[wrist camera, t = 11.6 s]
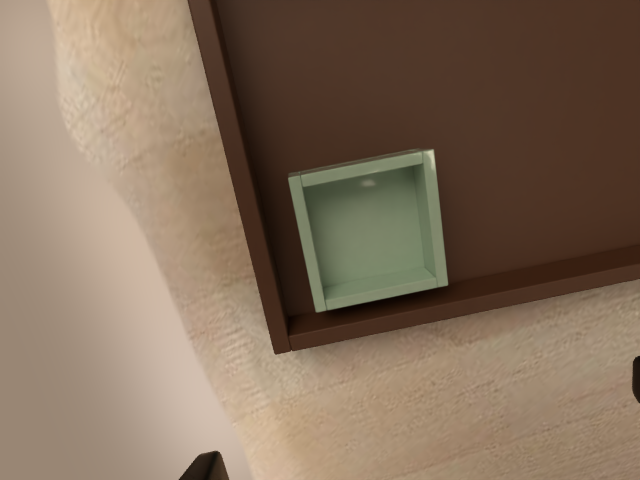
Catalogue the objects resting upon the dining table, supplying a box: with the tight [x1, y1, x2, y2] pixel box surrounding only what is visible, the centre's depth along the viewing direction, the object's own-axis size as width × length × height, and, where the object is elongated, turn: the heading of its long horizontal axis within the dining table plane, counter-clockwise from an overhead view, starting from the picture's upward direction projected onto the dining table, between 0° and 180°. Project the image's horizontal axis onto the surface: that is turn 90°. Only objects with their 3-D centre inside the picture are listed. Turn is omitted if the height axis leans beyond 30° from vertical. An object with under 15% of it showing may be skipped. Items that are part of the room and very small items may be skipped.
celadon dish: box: [288, 148, 448, 312], centre depth 17 cm, size 6×6×2 cm
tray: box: [188, 0, 640, 354], centre depth 17 cm, size 28×18×2 cm, turn 101°
